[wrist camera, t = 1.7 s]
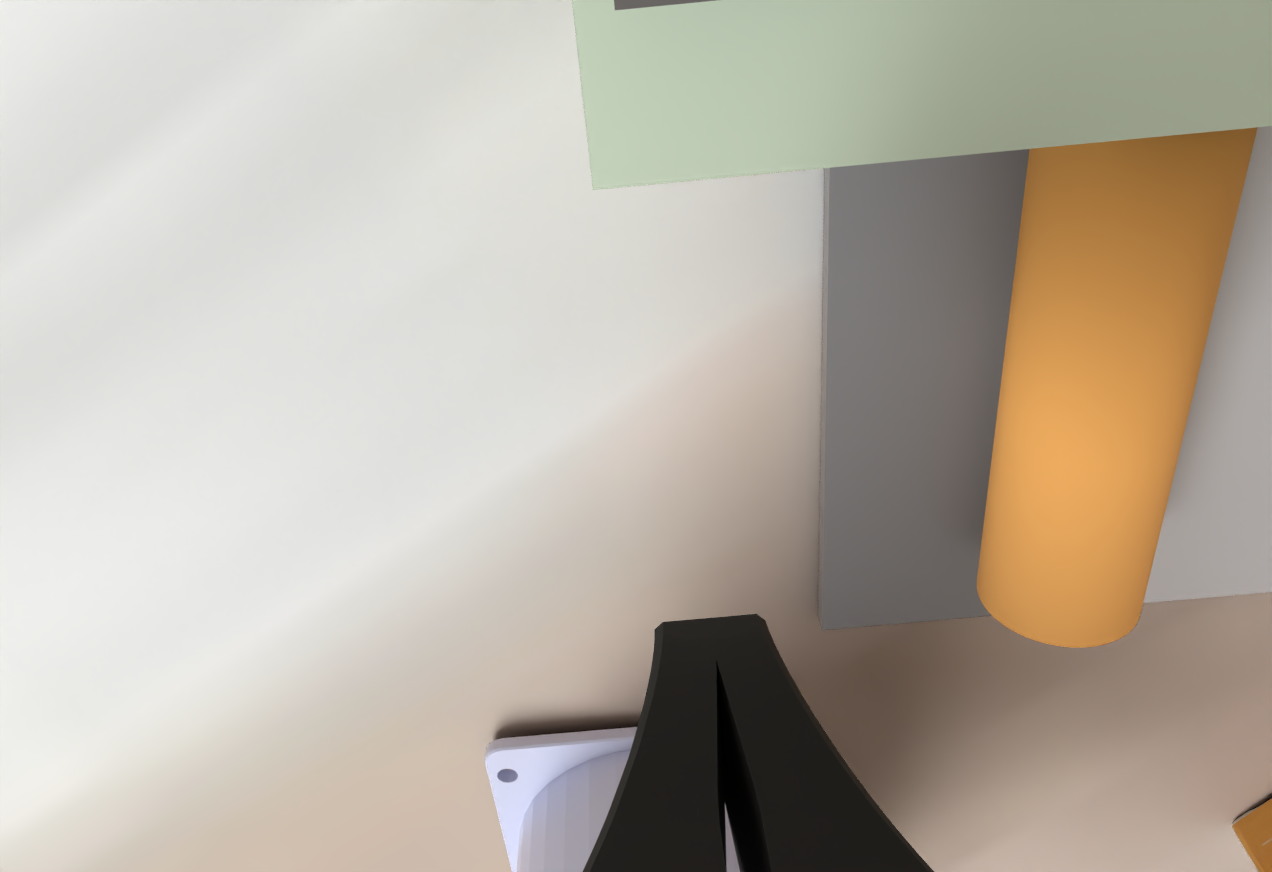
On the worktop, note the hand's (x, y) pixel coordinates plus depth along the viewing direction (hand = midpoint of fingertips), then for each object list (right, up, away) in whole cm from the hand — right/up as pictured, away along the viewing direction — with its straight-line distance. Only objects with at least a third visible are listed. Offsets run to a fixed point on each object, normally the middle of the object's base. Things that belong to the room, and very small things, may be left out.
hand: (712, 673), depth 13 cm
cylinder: (+7, +4, +5) cm, 10 cm away
